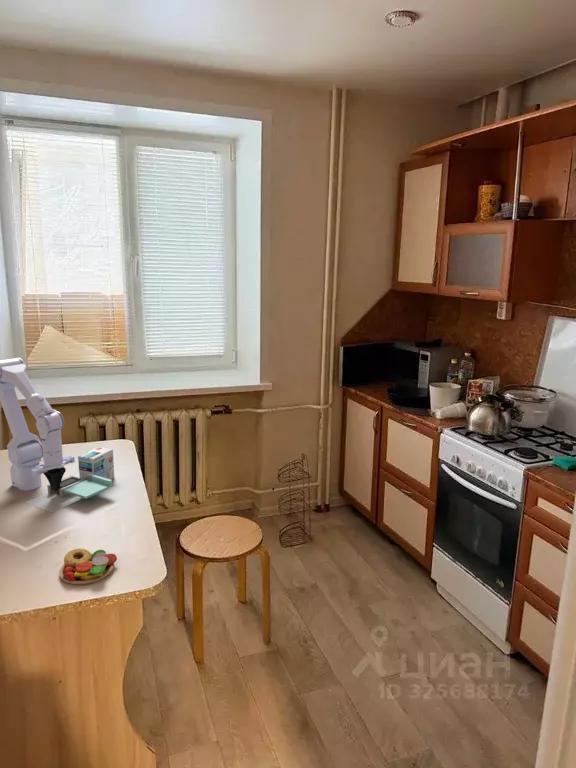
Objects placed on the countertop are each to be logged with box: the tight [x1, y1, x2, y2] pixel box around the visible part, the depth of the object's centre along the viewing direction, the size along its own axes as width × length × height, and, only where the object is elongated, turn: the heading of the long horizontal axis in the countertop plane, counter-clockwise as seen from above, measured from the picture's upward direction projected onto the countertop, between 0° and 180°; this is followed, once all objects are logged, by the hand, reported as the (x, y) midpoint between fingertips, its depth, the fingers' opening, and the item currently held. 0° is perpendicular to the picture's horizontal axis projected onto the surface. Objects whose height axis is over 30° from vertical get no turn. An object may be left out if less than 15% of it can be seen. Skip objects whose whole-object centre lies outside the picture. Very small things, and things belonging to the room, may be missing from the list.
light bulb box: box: [77, 446, 115, 480], centre depth 187 cm, size 11×7×11 cm, turn 160°
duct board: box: [24, 475, 85, 513], centre depth 174 cm, size 13×18×4 cm
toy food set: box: [58, 548, 118, 586], centre depth 135 cm, size 13×13×3 cm
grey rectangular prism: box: [57, 479, 77, 494], centre depth 178 cm, size 3×6×3 cm, turn 151°
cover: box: [64, 474, 114, 500], centre depth 172 cm, size 11×10×2 cm
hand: (55, 489), depth 174 cm, fingers closed
